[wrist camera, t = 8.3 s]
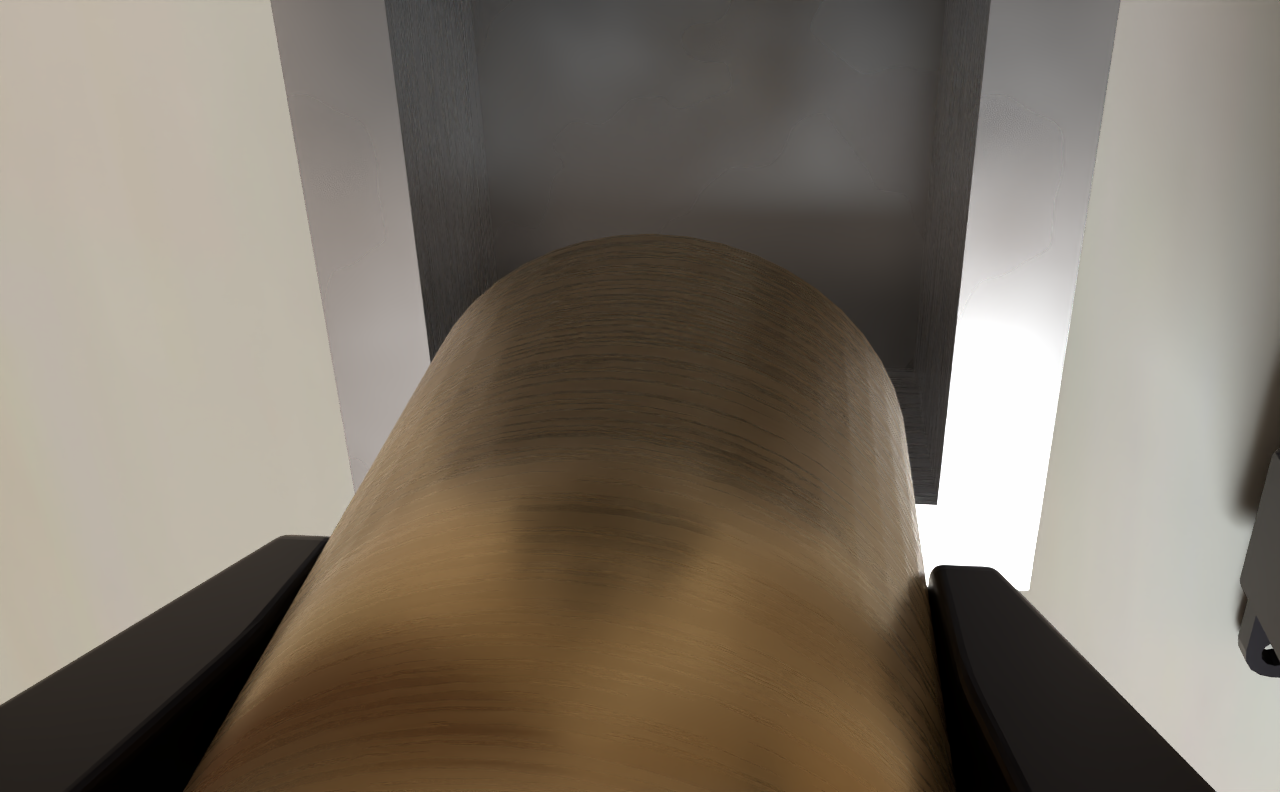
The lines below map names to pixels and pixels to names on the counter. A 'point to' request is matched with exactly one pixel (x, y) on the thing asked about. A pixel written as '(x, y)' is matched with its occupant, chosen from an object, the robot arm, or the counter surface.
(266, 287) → the counter surface
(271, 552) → the robot arm
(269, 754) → the cylinder
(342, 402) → the plate
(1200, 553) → the counter surface
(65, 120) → the counter surface
